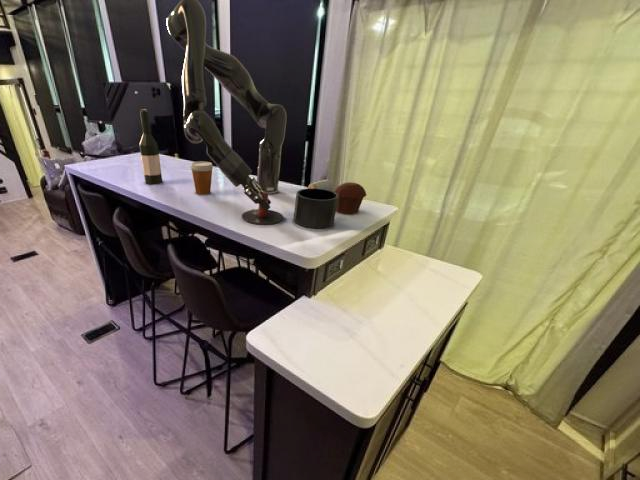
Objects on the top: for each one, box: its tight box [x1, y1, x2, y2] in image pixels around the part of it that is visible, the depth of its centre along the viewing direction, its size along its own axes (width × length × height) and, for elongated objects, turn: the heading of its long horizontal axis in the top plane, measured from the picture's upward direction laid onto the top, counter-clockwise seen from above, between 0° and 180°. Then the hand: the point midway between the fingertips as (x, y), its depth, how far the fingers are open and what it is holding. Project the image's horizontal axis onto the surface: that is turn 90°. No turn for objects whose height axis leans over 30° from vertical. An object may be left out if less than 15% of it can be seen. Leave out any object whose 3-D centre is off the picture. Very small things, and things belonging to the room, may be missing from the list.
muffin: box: [333, 181, 367, 215], centre depth 116 cm, size 12×11×10 cm
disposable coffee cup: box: [189, 161, 214, 196], centre depth 132 cm, size 10×10×12 cm
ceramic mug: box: [307, 179, 334, 192], centre depth 126 cm, size 11×8×8 cm
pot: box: [292, 187, 339, 230], centre depth 105 cm, size 14×14×10 cm
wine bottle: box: [139, 108, 164, 186], centre depth 140 cm, size 8×8×30 cm
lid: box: [241, 193, 284, 226], centre depth 108 cm, size 15×15×9 cm
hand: (268, 206), depth 108 cm, fingers open, 4 cm apart
